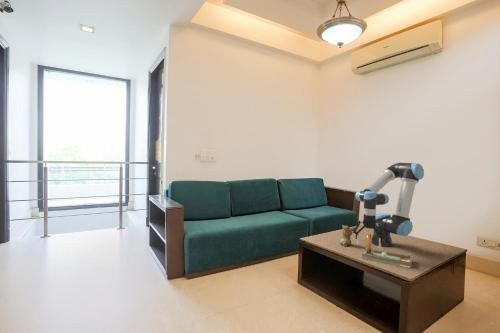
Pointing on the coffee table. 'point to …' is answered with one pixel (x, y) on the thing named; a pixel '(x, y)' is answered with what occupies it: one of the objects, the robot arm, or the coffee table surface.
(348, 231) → the figurine
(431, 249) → the coffee table surface
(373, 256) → the pitch
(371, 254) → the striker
